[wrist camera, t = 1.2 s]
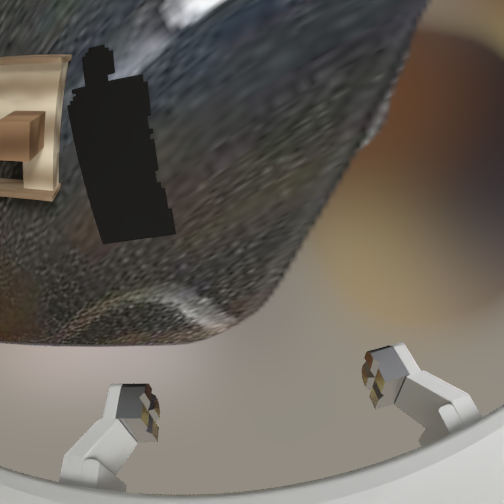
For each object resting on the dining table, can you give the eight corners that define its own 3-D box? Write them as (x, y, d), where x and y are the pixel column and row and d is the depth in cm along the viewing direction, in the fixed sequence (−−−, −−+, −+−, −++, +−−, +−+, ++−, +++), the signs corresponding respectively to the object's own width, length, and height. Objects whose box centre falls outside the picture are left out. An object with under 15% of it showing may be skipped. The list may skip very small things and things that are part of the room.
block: (14, 110, 29) (-4, 121, 25) (45, 111, 30) (29, 122, 26) (13, 145, 31) (-3, 160, 28) (43, 147, 33) (29, 161, 29)
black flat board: (103, 243, 47) (60, 56, 28) (103, 241, 48) (61, 56, 29) (175, 233, 49) (151, 35, 30) (175, 232, 49) (152, 35, 30)
